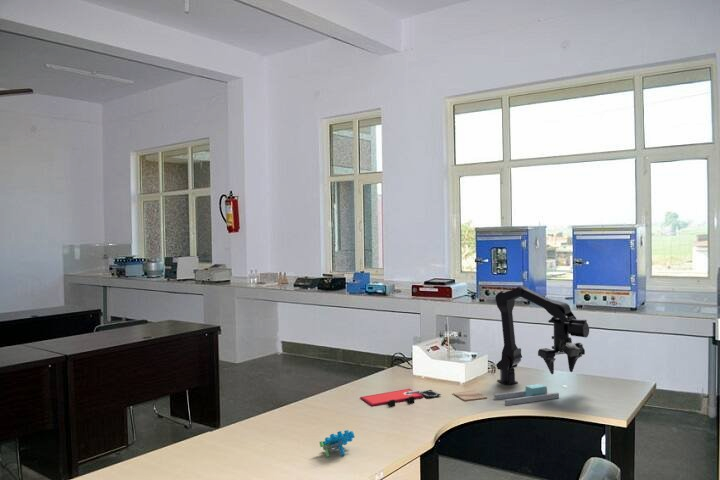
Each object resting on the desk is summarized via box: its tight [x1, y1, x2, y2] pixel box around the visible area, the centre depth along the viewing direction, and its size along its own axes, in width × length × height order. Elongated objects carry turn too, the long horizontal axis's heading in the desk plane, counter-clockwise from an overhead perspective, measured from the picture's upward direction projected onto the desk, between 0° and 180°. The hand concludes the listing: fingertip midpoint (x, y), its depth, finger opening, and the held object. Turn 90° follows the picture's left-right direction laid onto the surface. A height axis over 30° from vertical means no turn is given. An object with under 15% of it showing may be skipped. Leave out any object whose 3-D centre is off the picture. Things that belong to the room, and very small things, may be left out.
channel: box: [493, 389, 560, 406], centre depth 215 cm, size 8×24×2 cm, turn 109°
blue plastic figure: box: [319, 429, 355, 458], centre depth 166 cm, size 11×6×10 cm
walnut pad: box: [452, 389, 488, 402], centre depth 220 cm, size 10×10×1 cm
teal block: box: [525, 383, 548, 397], centre depth 217 cm, size 4×7×4 cm, turn 111°
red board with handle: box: [360, 388, 442, 408], centre depth 219 cm, size 30×3×15 cm
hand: (561, 372), depth 221 cm, fingers open, 9 cm apart
